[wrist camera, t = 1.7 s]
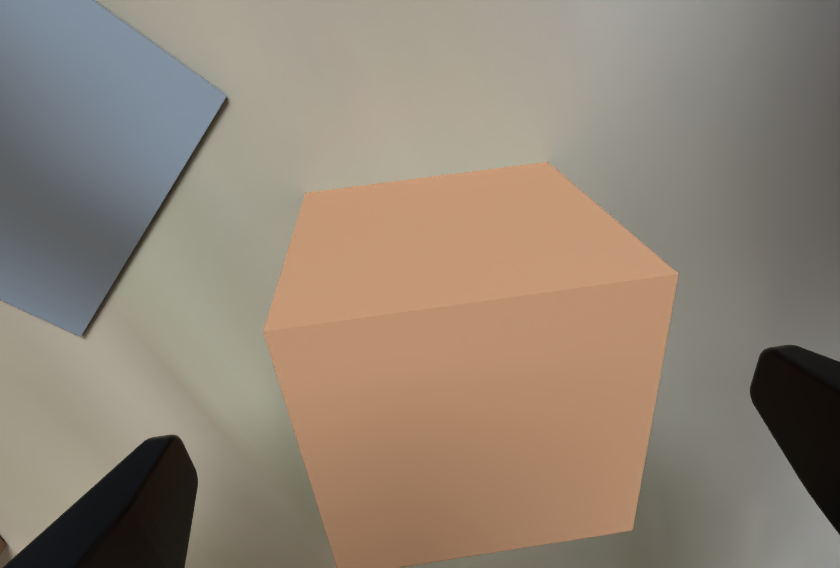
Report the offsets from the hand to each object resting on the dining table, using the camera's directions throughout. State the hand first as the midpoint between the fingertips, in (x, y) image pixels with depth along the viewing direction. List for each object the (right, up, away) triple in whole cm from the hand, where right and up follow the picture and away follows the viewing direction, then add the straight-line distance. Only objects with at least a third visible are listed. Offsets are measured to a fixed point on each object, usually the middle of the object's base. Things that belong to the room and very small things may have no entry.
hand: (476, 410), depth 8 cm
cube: (-1, +2, +4) cm, 4 cm away
